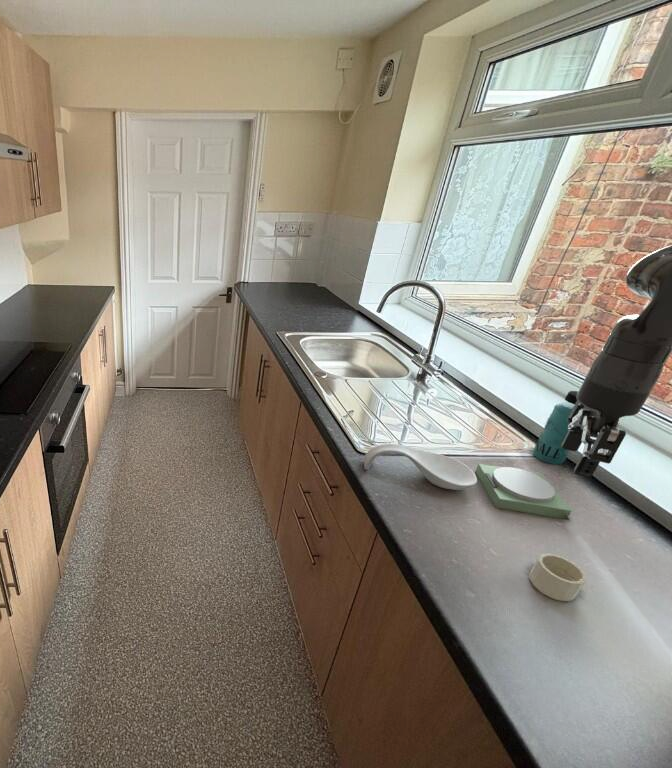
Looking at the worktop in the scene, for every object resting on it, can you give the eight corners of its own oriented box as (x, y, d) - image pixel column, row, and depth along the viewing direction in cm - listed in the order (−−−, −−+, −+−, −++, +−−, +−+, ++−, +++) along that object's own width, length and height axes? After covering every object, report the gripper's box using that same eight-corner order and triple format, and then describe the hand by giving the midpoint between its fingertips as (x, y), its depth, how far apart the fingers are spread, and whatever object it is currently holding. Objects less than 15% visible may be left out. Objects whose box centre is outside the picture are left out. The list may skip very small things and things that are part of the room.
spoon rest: (464, 471, 104) (474, 448, 100) (479, 502, 94) (490, 477, 91) (361, 453, 111) (367, 430, 108) (365, 480, 101) (371, 456, 98)
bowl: (561, 576, 77) (573, 557, 74) (581, 607, 71) (594, 588, 69) (521, 568, 78) (532, 549, 76) (538, 598, 73) (549, 578, 71)
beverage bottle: (556, 457, 108) (592, 390, 99) (566, 472, 103) (604, 402, 94) (525, 451, 111) (557, 385, 102) (533, 466, 105) (567, 397, 96)
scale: (537, 481, 100) (543, 469, 98) (566, 519, 89) (573, 507, 87) (475, 471, 104) (479, 460, 102) (495, 507, 92) (501, 495, 91)
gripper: (671, 405, 60) (616, 492, 67) (634, 369, 71) (590, 447, 78) (601, 393, 63) (557, 477, 71) (576, 360, 74) (539, 436, 82)
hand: (574, 461), depth 74 cm, fingers open, 8 cm apart
